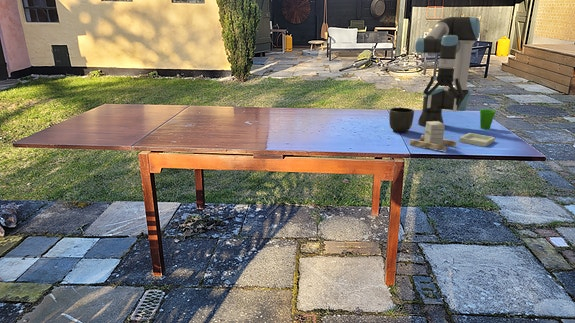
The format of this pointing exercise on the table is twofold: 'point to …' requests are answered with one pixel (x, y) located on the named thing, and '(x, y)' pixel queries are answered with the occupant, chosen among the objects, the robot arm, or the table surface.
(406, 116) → the planter
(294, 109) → the table surface
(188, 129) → the table surface
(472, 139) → the tray
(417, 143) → the open u-shaped frame
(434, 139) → the supplement box
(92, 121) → the table surface
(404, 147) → the table surface
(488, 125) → the cup
